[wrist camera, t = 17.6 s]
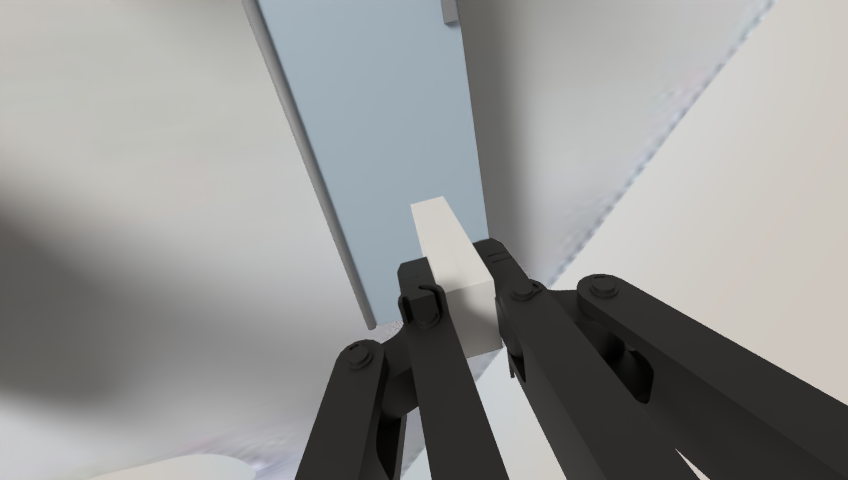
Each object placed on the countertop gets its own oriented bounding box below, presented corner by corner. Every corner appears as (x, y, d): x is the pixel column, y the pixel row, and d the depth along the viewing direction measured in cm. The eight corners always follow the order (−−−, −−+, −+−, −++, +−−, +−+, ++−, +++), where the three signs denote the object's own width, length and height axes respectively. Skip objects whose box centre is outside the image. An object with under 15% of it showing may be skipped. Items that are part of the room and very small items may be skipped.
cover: (367, 331, 33) (499, 305, 33) (208, -76, 19) (440, -139, 18) (368, 321, 34) (495, 296, 34) (220, -69, 20) (437, -127, 19)
